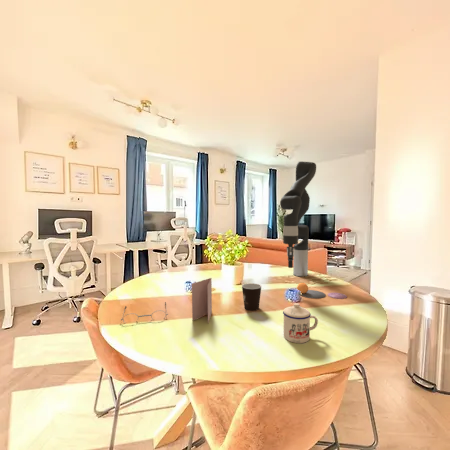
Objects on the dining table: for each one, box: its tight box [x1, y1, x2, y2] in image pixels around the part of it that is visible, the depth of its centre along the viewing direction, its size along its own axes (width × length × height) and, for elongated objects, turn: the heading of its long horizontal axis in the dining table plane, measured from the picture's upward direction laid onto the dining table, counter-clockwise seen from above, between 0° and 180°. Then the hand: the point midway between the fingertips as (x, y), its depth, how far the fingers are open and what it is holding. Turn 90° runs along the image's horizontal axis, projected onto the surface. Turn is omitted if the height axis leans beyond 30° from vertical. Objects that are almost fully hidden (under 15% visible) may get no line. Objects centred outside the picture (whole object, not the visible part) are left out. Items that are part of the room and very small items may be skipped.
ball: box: [296, 282, 309, 294], centre depth 135 cm, size 6×6×6 cm
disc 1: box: [301, 289, 327, 299], centre depth 134 cm, size 13×13×1 cm
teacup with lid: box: [282, 302, 319, 344], centre depth 89 cm, size 12×9×12 cm
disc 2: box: [327, 292, 348, 300], centre depth 131 cm, size 9×9×1 cm
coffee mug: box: [241, 282, 262, 312], centre depth 117 cm, size 12×9×10 cm
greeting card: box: [191, 277, 213, 323], centre depth 105 cm, size 11×7×15 cm, turn 141°
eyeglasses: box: [120, 301, 169, 323], centre depth 112 cm, size 18×19×4 cm
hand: (290, 267), depth 136 cm, fingers closed
